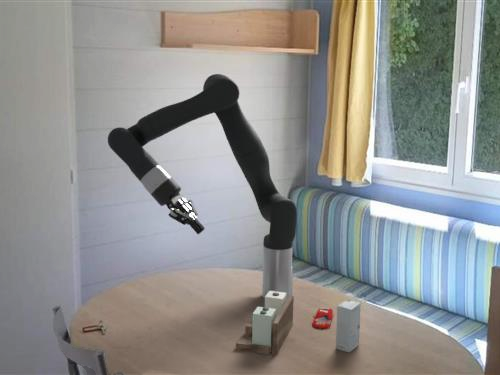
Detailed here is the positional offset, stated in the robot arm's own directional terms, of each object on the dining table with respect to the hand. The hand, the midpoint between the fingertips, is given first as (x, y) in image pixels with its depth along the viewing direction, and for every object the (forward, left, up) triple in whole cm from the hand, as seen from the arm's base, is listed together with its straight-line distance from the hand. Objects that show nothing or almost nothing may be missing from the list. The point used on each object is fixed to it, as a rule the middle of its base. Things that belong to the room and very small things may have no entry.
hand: (201, 231), depth 177 cm
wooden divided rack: (-3, +18, -28) cm, 34 cm away
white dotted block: (-10, +19, -27) cm, 34 cm away
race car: (-23, +26, -28) cm, 45 cm away
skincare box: (-15, +39, -28) cm, 50 cm away
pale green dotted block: (+2, +24, -27) cm, 36 cm away
